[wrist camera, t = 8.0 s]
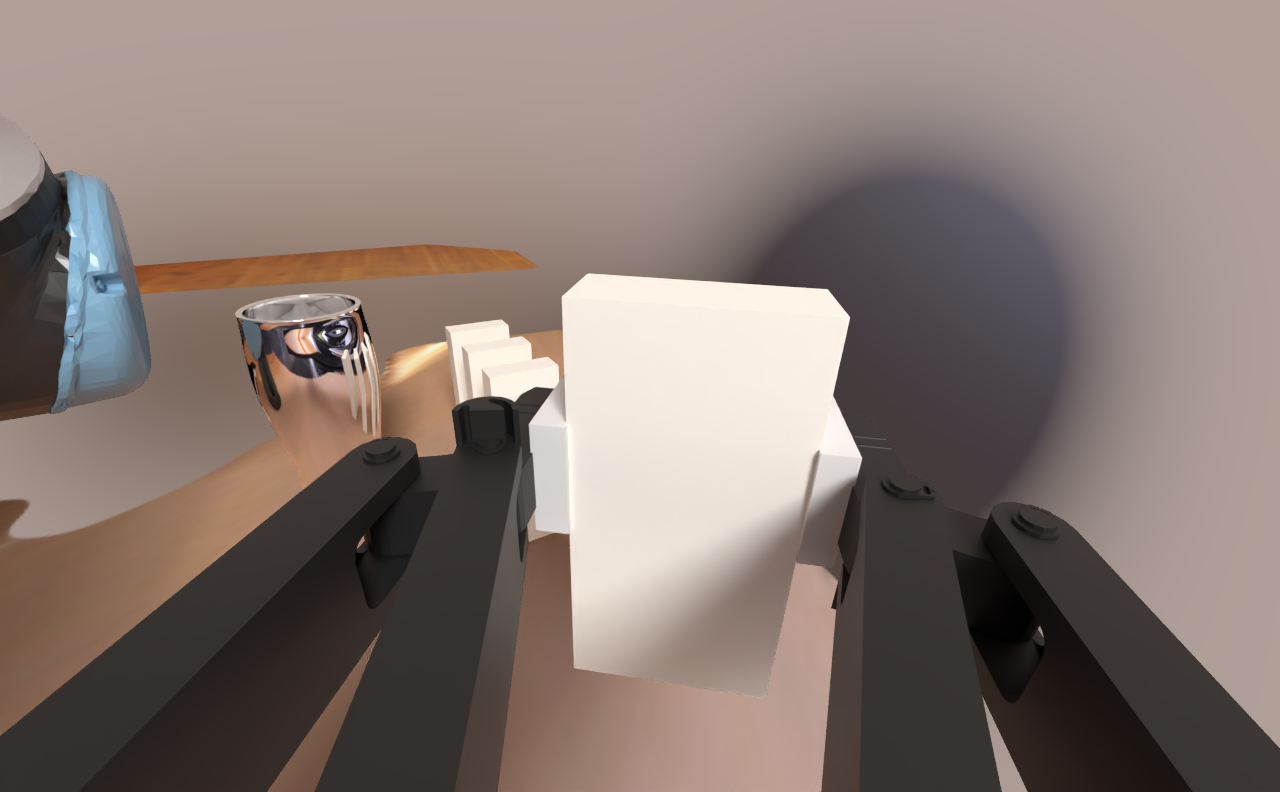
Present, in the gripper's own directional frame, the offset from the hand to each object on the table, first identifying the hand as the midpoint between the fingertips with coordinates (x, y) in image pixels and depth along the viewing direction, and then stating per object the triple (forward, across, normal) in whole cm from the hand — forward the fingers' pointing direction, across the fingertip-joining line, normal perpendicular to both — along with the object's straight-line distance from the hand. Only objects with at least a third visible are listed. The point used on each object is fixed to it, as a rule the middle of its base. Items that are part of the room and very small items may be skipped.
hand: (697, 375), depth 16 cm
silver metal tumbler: (+12, -24, -18) cm, 33 cm away
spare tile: (-5, 0, -6) cm, 8 cm away
